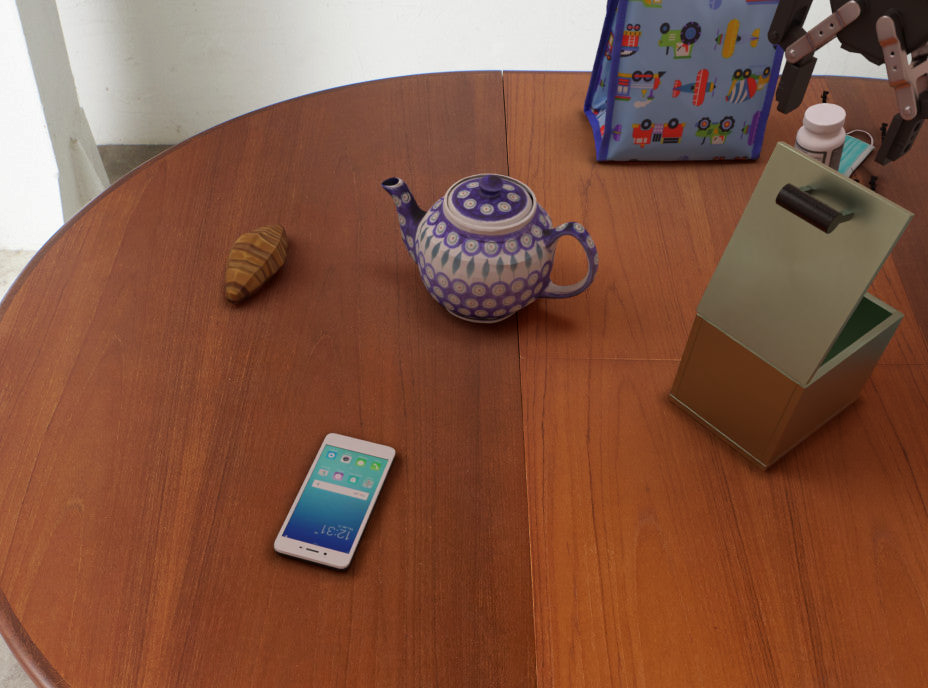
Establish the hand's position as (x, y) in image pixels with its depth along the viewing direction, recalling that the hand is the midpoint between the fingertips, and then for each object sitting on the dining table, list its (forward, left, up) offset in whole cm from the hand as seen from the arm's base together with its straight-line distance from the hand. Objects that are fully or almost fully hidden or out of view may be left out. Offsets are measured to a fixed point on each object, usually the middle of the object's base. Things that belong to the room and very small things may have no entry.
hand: (835, 134), depth 69 cm
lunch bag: (-37, -39, -34) cm, 64 cm away
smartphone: (+35, -17, -34) cm, 51 cm away
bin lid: (-3, 0, -13) cm, 14 cm away
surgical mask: (-52, -21, -34) cm, 65 cm away
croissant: (+22, -50, -34) cm, 64 cm away
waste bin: (-8, 0, -33) cm, 34 cm away
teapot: (+4, -31, -34) cm, 46 cm away
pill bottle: (-43, -20, -33) cm, 58 cm away
